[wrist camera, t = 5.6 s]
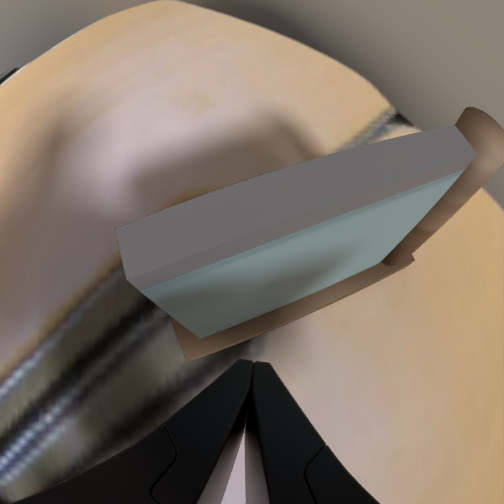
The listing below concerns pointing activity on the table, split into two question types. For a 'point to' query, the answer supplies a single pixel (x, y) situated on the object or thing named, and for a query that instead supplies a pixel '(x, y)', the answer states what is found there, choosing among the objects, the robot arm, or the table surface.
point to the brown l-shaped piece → (467, 184)
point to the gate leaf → (288, 229)
